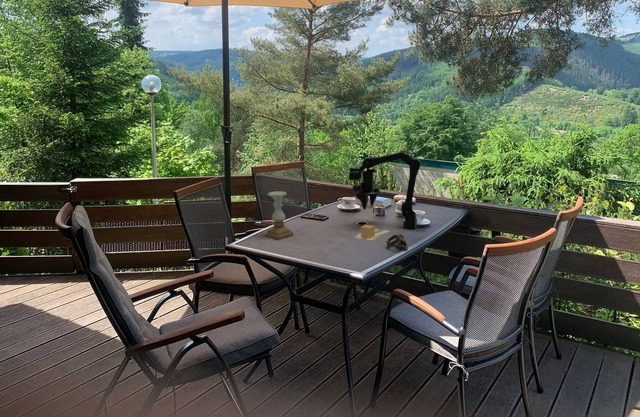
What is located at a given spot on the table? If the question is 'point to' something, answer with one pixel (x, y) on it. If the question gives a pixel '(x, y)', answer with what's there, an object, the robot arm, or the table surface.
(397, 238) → the brown striped lump
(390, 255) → the table surface
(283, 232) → the candle holder
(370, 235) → the tan wooden cube
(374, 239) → the birch board
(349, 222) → the table surface
